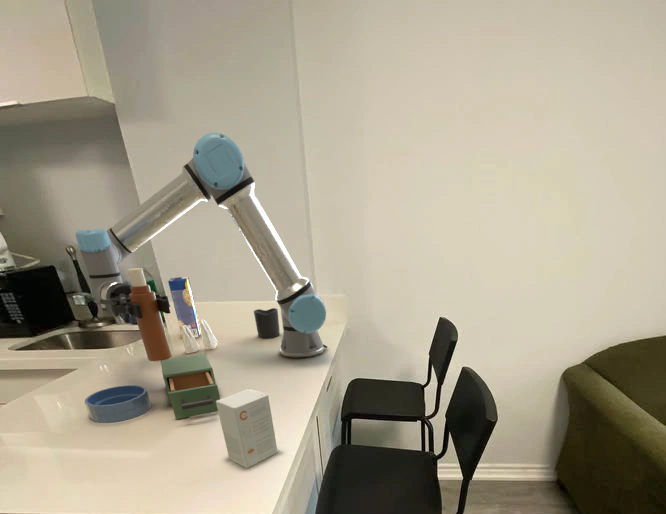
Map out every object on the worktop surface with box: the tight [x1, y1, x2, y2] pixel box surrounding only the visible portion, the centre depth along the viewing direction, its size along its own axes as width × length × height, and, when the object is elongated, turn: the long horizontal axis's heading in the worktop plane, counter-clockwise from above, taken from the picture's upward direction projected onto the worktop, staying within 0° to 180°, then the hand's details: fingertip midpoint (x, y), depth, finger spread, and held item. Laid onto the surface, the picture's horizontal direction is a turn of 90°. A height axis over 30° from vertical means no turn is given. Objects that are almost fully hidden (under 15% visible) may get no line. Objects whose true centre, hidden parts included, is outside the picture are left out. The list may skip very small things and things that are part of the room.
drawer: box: [167, 371, 221, 420], centre depth 108 cm, size 18×11×7 cm, turn 24°
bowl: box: [84, 384, 152, 424], centre depth 110 cm, size 14×14×5 cm
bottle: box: [127, 267, 173, 362], centre depth 100 cm, size 5×5×20 cm
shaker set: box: [180, 318, 219, 354], centre depth 157 cm, size 12×4×11 cm, turn 111°
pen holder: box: [253, 307, 281, 339], centre depth 173 cm, size 9×9×10 cm
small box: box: [216, 388, 278, 469], centre depth 85 cm, size 8×6×13 cm
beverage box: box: [167, 276, 201, 340], centre depth 176 cm, size 7×11×22 cm, turn 15°
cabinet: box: [160, 352, 217, 404], centre depth 120 cm, size 15×12×8 cm
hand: (153, 309), depth 95 cm, fingers closed on bottle, 5 cm apart
